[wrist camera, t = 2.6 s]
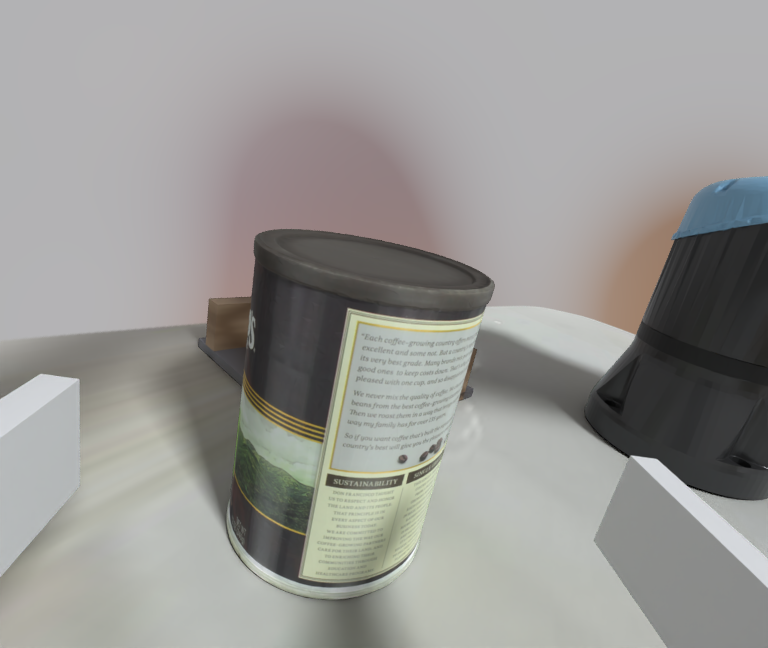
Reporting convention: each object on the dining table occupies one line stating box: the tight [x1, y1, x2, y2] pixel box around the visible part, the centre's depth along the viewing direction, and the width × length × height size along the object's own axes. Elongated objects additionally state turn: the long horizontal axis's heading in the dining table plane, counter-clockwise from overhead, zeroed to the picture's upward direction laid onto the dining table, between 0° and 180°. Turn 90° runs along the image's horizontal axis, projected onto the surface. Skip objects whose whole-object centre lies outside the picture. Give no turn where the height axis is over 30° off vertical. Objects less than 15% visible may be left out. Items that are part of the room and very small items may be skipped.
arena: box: [198, 297, 477, 401], centre depth 39 cm, size 18×18×5 cm
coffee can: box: [227, 229, 495, 599], centre depth 21 cm, size 10×10×14 cm
